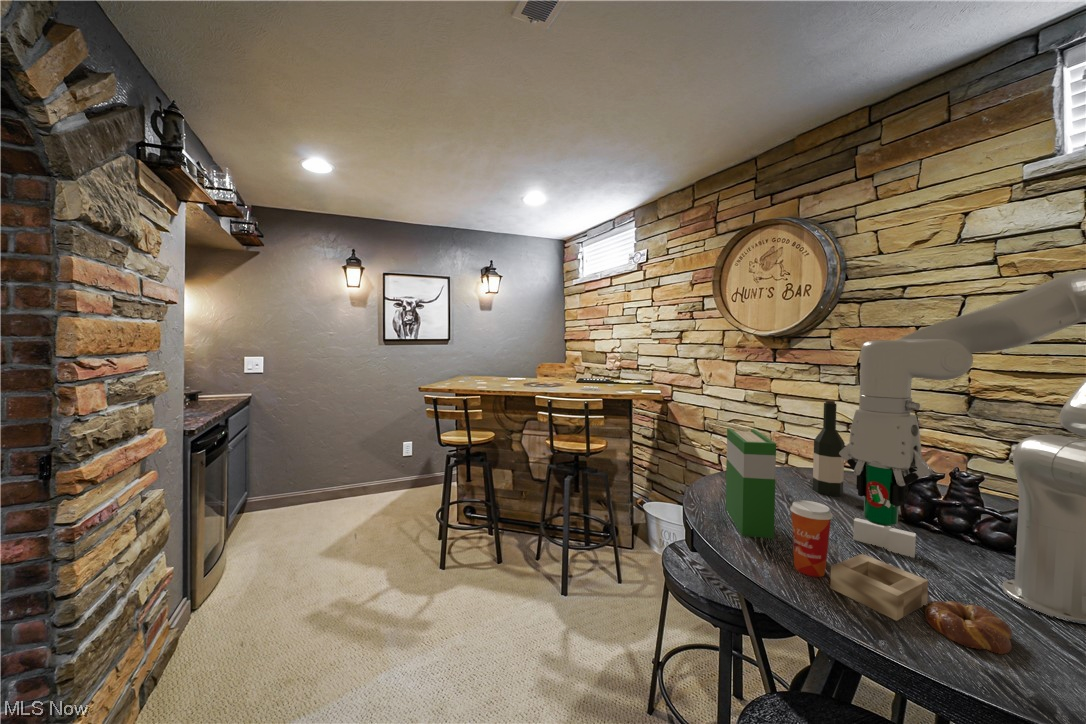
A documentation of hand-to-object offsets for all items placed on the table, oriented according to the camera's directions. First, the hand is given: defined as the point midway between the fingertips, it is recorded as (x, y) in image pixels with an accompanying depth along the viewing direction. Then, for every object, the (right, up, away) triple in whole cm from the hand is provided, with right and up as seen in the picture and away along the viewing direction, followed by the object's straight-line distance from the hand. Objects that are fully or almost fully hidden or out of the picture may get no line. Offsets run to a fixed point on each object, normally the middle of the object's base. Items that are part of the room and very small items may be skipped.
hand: (881, 498), depth 80 cm
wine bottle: (+29, -17, +57) cm, 66 cm away
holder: (0, -19, +1) cm, 19 cm away
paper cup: (-7, -19, +10) cm, 22 cm away
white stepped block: (+17, -19, +20) cm, 32 cm away
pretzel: (+7, -20, -9) cm, 23 cm away
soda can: (0, -5, 0) cm, 5 cm away
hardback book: (-9, -18, +34) cm, 39 cm away
